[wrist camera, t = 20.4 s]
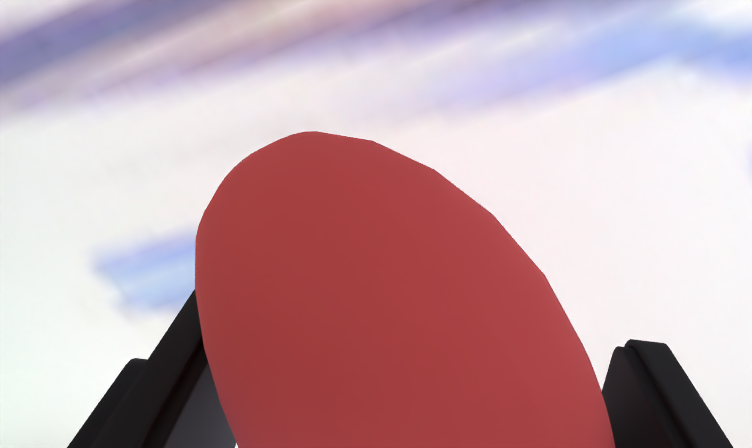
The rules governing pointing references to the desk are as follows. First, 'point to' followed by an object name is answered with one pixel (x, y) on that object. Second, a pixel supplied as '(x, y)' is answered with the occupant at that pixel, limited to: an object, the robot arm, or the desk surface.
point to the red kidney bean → (381, 311)
